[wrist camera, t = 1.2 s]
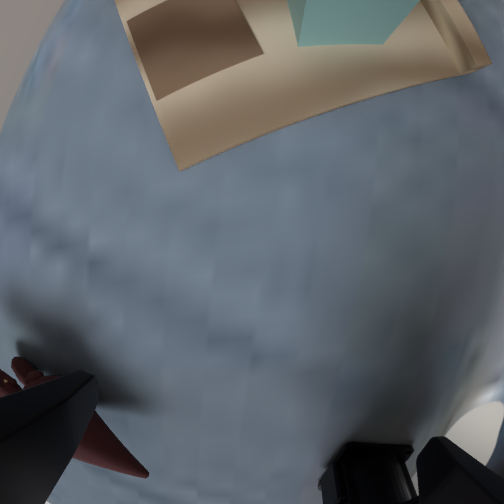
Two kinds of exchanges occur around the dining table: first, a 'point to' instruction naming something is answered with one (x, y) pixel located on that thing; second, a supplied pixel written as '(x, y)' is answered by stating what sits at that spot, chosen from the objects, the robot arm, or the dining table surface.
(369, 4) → the block
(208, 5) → the tan tray
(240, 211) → the dining table surface
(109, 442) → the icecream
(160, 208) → the dining table surface
